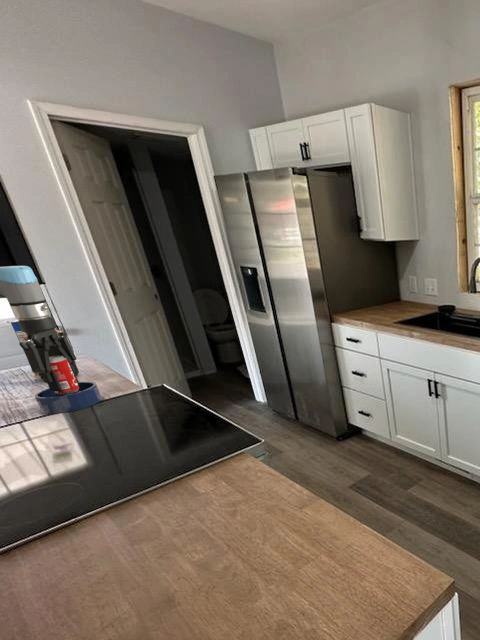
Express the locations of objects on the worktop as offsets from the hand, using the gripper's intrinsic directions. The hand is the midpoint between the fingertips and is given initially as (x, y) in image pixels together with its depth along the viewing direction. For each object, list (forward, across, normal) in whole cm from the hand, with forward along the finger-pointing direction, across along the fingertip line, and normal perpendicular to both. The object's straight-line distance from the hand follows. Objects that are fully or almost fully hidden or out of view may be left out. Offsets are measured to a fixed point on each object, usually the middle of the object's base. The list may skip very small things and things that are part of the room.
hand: (65, 386), depth 136 cm
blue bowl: (+6, 0, 0) cm, 6 cm away
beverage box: (+7, +41, +38) cm, 56 cm away
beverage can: (+2, 0, 0) cm, 2 cm away
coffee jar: (+7, +31, +27) cm, 42 cm away
